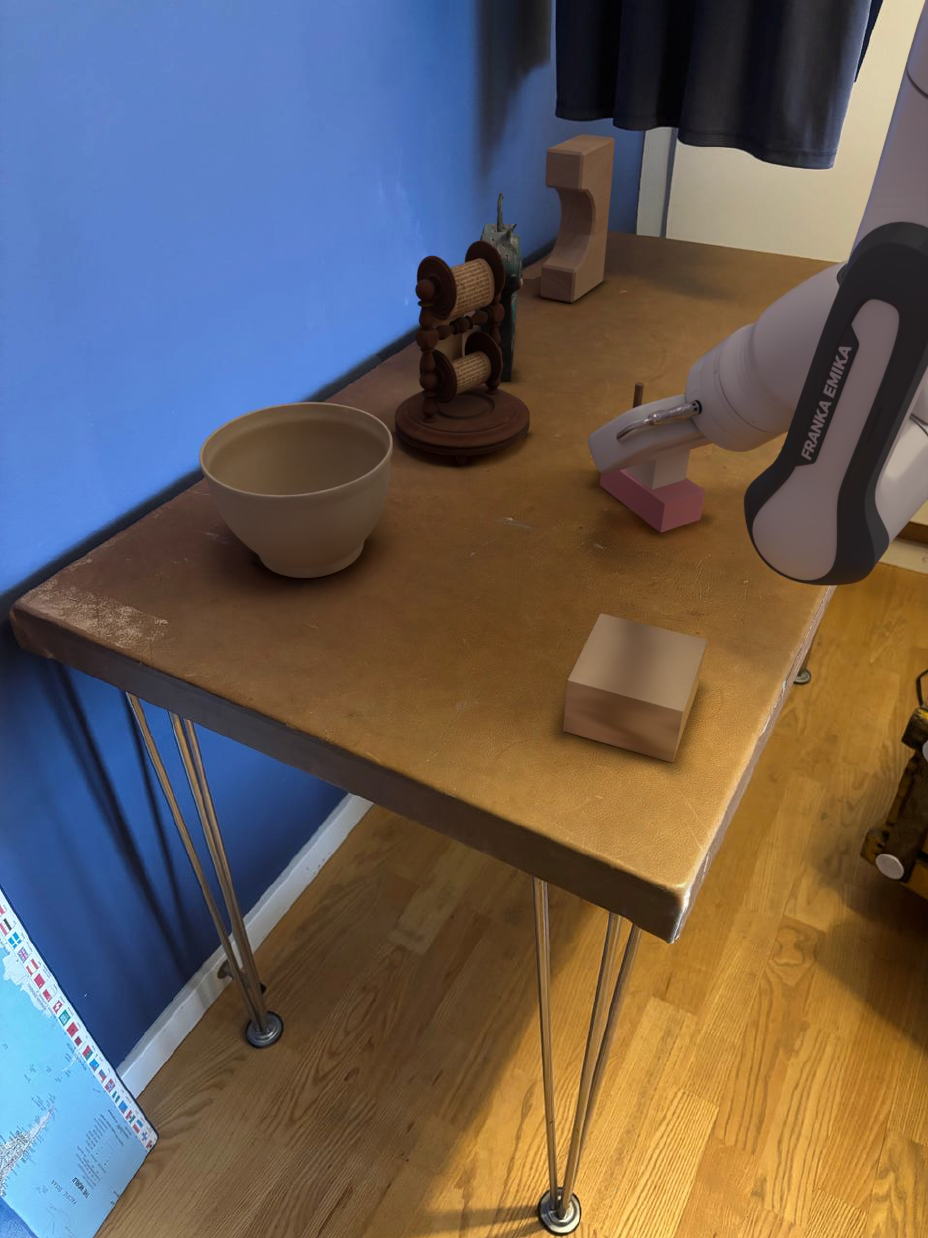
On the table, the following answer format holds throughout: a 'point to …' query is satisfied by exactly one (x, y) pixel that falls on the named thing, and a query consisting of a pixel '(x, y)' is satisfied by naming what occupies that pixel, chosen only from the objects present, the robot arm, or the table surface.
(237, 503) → the planter bowl
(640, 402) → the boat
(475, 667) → the table surface
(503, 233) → the ceramic cat
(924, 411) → the robot arm
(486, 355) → the scroll
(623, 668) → the birch block
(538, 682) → the table surface
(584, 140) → the decorative block
